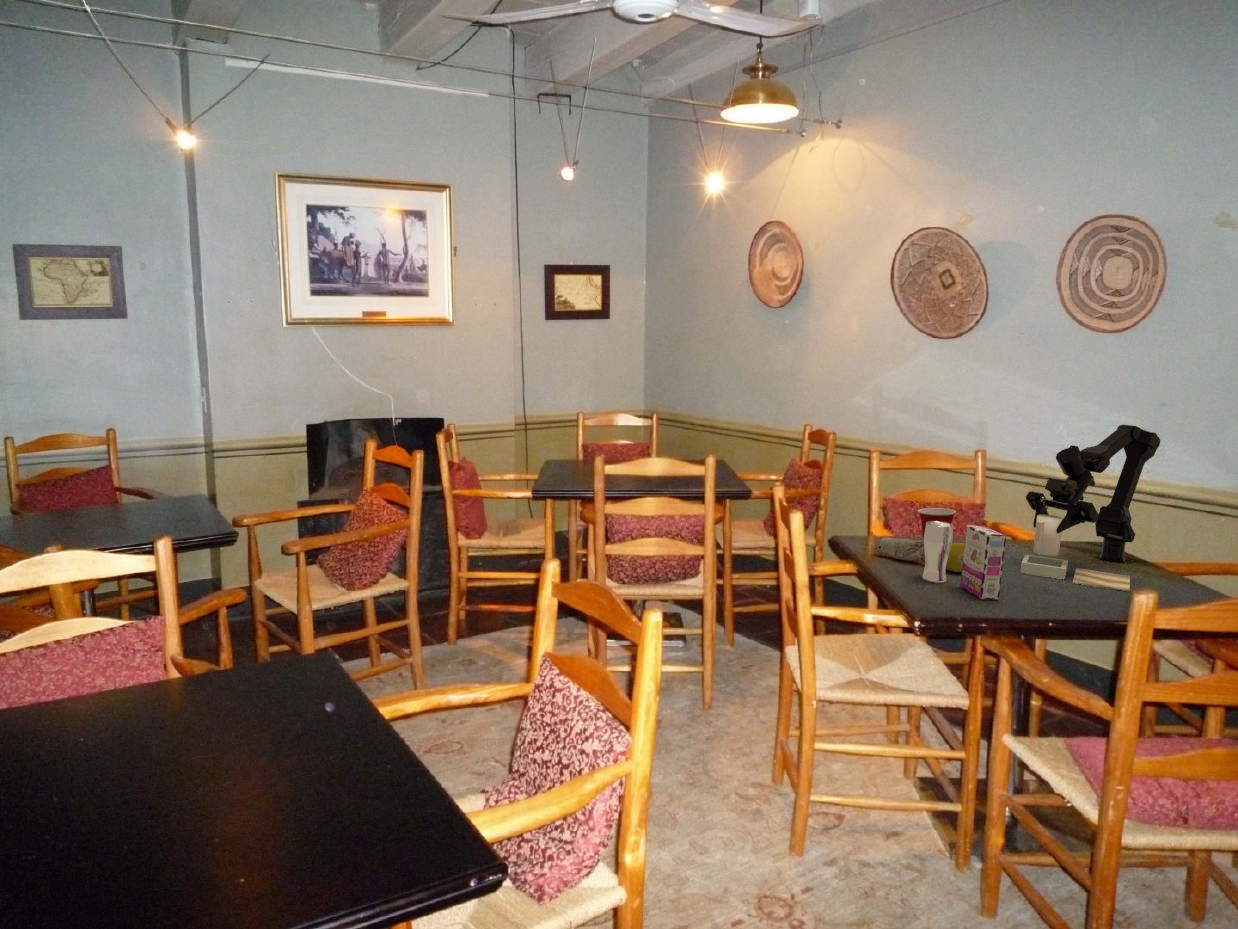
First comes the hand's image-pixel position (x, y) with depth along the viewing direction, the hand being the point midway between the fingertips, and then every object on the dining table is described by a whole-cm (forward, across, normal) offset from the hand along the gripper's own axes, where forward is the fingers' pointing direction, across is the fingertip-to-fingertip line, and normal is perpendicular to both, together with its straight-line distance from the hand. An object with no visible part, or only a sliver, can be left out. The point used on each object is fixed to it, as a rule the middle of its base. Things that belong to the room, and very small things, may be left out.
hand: (1045, 529), depth 236 cm
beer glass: (+33, -8, -15) cm, 37 cm away
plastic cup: (+13, -31, +4) cm, 34 cm away
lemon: (+24, -10, -6) cm, 27 cm away
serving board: (+3, +12, +14) cm, 19 cm away
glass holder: (+8, 0, +10) cm, 12 cm away
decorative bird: (+28, -25, -10) cm, 38 cm away
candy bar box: (+32, +6, -15) cm, 36 cm away
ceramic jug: (+4, 0, +6) cm, 7 cm away
